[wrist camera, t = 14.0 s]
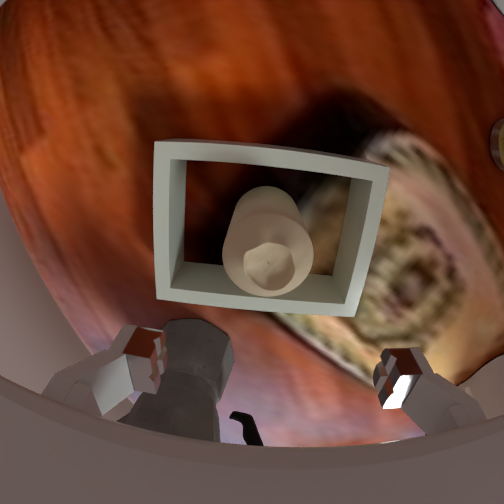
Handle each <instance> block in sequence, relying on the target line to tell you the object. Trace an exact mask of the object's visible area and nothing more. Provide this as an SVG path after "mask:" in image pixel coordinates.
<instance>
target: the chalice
mask: <svg viewBox="0 0 504 504" xmlns="http://www.w3.org/2000/svg"><path fill="white" fill-rule="evenodd" d="M492 1H493V2H494V4H495V5H496V6H497V8H498V9H499V10H500V11H501V13H502V14H503V15H504V0H492Z"/></svg>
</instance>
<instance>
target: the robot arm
mask: <svg viewBox="0 0 504 504" xmlns="http://www.w3.org/2000/svg"><path fill="white" fill-rule="evenodd" d="M165 341H166V334H165V332H164V331H162V330H157V329H152V328H147V327H142V326H136V325H131V324H125V325H124V326H123V327H122V329H121V330H120V332H119V334H118V335H117V337H116V338H115V340H114V342H113V343H112V345H111V346H110V348H109V350H103V351H101V352H99V353H96V354H94V355H92V356H90V357H88V358H86V359H84V360H82V361H80V362H78V363H76V364H74V365H72V366H70V367H67V368H65V369H63V370H61V371H59V372H57V373H55V374H54V376H53V377H52V379H51V380H50V382H49V383H48V385H47V386H46V388H45V389H44V391H43V392H42V394H41V395H40V394H38V393H36V392H33V391H31V390H29V389H27V388H25V387H23V386H20V385H18V384H16V383H14V382H12V381H10V380H8V379H6V378H4V377H2V376H1V375H0V504H504V355H502V356H499V357H497V358H495V359H494V360H492V361H490V362H489V363H488V364H486V365H485V366H483V367H482V368H481V369H480V370H479V371H477V372H476V373H475V374H474V375H473V376H472V377H471V378H469V379H468V380H467V381H465V382H464V383H462V384H460V385H459V386H455V385H454V384H452V383H451V382H449V381H448V380H446V379H445V378H443V377H442V376H440V375H439V374H437V373H436V374H434V372H433V370H432V369H431V367H430V365H429V363H428V361H427V360H426V358H425V356H424V355H423V353H422V351H421V349H420V348H418V347H413V348H385V349H384V350H383V352H382V354H381V356H380V357H381V359H382V361H381V362H379V363H378V364H377V365H376V367H375V370H374V374H373V382H374V386H375V388H376V389H377V390H379V391H380V393H379V395H378V398H379V400H380V403H381V406H382V408H397V407H401V409H402V410H403V411H404V412H405V413H406V414H407V415H408V416H409V417H410V418H411V419H412V420H413V421H414V422H415V423H416V424H417V425H418V426H419V427H420V428H421V429H422V430H423V431H424V432H425V433H426V434H427V435H426V436H420V437H415V438H409V439H403V440H396V441H389V442H382V443H373V444H363V445H352V446H336V447H268V446H252V445H240V444H230V443H221V442H213V441H206V440H199V439H193V438H187V437H181V436H175V435H170V434H165V433H160V432H156V431H151V430H147V429H143V428H139V427H135V426H131V425H127V424H123V423H120V422H116V421H113V420H109V419H106V418H103V416H102V415H104V414H105V413H106V412H107V411H109V410H110V409H111V408H113V407H114V406H115V405H117V404H118V403H119V402H121V401H122V400H123V399H125V398H126V397H127V396H129V395H130V394H131V393H133V392H134V390H136V391H141V392H146V393H151V394H156V393H157V390H158V388H159V385H160V382H161V379H160V375H161V374H163V373H164V371H165V368H166V364H167V348H166V347H165V346H164V344H165Z"/></svg>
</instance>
